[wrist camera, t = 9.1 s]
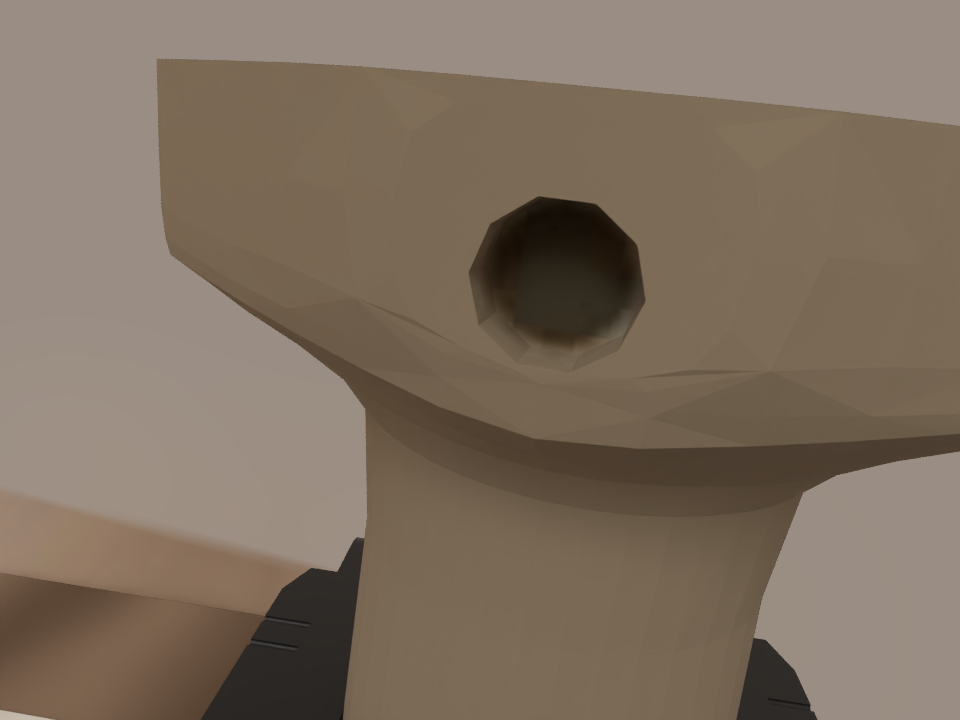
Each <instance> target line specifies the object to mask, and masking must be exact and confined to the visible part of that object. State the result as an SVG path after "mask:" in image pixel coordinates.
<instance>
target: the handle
mask: <svg viewBox="0 0 960 720" xmlns="http://www.w3.org/2000/svg"><path fill="white" fill-rule="evenodd" d="M157 87H158V88H157V90H158V130H159V131H158V133H159V160H160V185H161V207H162V214H163V222H164V230H165V237H166V241H167V244H168V248H169V251H170V254H171V255H172V256H173V257H175V258H176V259H177V260H179V261H180V262H181V263H183V264H184V265H186V266H187V267H188V268H190V269H191V270H192V271H194V272H195V273H197V274H198V275H200V276H201V277H202V278H204V279H205V280H206V281H208V282H209V283H210V284H212V285H213V286H215V287H216V288H217V289H218V290H220V291H221V292H222V293H224V294H225V295H226V296H228V297H229V298H230V299H232V300H233V301H234V302H236V303H237V304H238V305H240V306H241V307H242V308H244V309H245V310H246V311H248V312H249V313H251V314H252V315H254V316H255V317H257V318H258V319H260V320H261V321H263V322H265V323H266V324H268V325H269V326H271V327H272V328H274V329H275V330H277V331H278V332H280V333H282V334H283V335H285V336H286V337H288V338H289V339H291V340H292V341H294V342H295V343H297V344H298V345H299V346H301V347H302V348H303V349H305V350H306V351H307V352H309V353H310V354H311V355H312V356H314V357H315V358H316V359H318V360H319V361H320V362H322V363H323V364H324V365H325V366H327V367H328V368H329V369H331V370H332V371H333V372H334V373H336V374H337V375H338V376H340V377H341V378H342V379H344V381H345V382H346V383H347V385H348V386H349V387H350V389H351V390H352V391H353V393H354V394H355V395H356V397H357V398H358V399H359V401H360V402H361V404H362V405H363V406H364V408H365V409H366V411H365V412H366V462H367V463H366V468H367V523H366V531H365V539H364V547H363V555H362V564H361V572H360V580H359V588H358V596H357V604H356V613H355V621H354V629H353V637H352V645H351V653H350V661H349V670H348V678H347V686H346V694H345V702H344V712H343V720H736V719H737V714H738V709H739V704H740V700H741V695H742V690H743V686H744V681H745V676H746V671H747V667H748V662H749V657H750V652H751V648H752V643H753V638H754V633H755V629H756V624H757V619H758V615H759V610H760V605H761V600H762V597H763V594H764V592H765V589H766V587H767V584H768V581H769V579H770V576H771V574H772V571H773V569H774V566H775V563H776V561H777V558H778V556H779V553H780V551H781V548H782V545H783V543H784V540H785V538H786V535H787V533H788V530H789V528H790V525H791V522H792V520H793V517H794V515H795V512H796V510H797V507H798V505H799V502H800V499H801V497H802V494H803V492H805V491H807V490H809V489H811V488H813V487H815V486H817V485H819V484H821V483H822V482H824V481H826V480H828V479H830V478H832V477H834V476H836V475H840V474H844V473H848V472H853V471H857V470H861V469H865V468H870V467H874V466H878V465H882V464H887V463H891V462H896V461H902V460H908V459H915V458H920V457H927V456H933V455H940V454H946V453H953V452H958V451H960V126H955V125H947V124H938V123H931V122H922V121H915V120H907V119H898V118H890V117H882V116H874V115H866V114H858V113H850V112H842V111H831V110H822V109H813V108H803V107H793V106H784V105H773V104H764V103H754V102H745V101H734V100H725V99H716V98H705V97H695V96H684V95H673V94H663V93H652V92H642V91H631V90H621V89H610V88H599V87H589V86H588V87H587V86H578V85H567V84H556V83H546V82H535V81H525V80H514V79H503V78H493V77H482V76H471V75H460V74H447V73H435V72H423V71H411V70H398V69H385V68H373V67H361V66H359V67H358V66H342V65H325V64H308V63H290V62H288V63H287V62H259V61H258V62H257V61H227V60H187V59H157Z"/></svg>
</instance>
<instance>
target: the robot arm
mask: <svg viewBox="0 0 960 720" xmlns="http://www.w3.org/2000/svg"><path fill="white" fill-rule="evenodd" d="M363 547H364V538H358V537H357V538H356V539H355V540H354V541H353V543H352V545H351V547H350V549H349V551H348V553H347V554H346V556H345V559H344V561H343V562H342V564H341V566H340V568H339V570H338V572H334V571H327V570H321V569H315V568H311V569H309V570H308V571H306V572H305V573H304V574H302V575H301V576H299V577H298V578H296V579H295V580H294V581H292V582H291V583H289V584H288V585H286V586H285V587H284V588H282V590H281V591H280V593H279V595H278V596H277V598H276V599H275V601H274V603H273V604H272V606H271V607H270V609H269V611H268V612H267V614H266V616H265V620H264V621H262V622H261V623H260V625H259V627H258V628H257V630H256V631H255V633H254V635H253V636H252V638H251V642H250V645H247V646H246V647H245V649H244V651H243V652H242V654H241V655H240V657H239V659H238V660H237V662H236V663H235V665H234V667H233V668H232V670H231V671H230V673H229V675H228V676H227V678H226V679H225V681H224V683H223V684H222V686H221V687H220V689H219V691H218V692H217V694H216V695H215V697H214V699H213V700H212V702H211V703H210V705H209V707H208V708H207V710H206V712H205V713H204V715H203V716H202V718H201V720H343V712H344V702H345V694H346V686H347V678H348V670H349V661H350V653H351V645H352V637H353V629H354V621H355V613H356V604H357V596H358V588H359V580H360V572H361V564H362V555H363ZM736 720H817V718H816V716H815V713H814V712H812V711H811V710H810V703H809V701H808V698H807V696H806V694H805V692H804V690H803V687H802V685H801V683H800V681H799V679H798V677H797V675H796V672H795V670H794V669H793V668H792V667H791V666H790V665H789V664H788V663H787V662H786V661H785V660H784V659H783V658H782V657H781V656H780V655H779V654H778V653H777V652H776V650H775V649H774V648H773V647H772V646H771V645H770V644H769V643H768V642H767V641H766V640H762V639H756V638H753V643H752V648H751V652H750V657H749V662H748V667H747V671H746V676H745V681H744V686H743V690H742V695H741V700H740V704H739V709H738V714H737V719H736Z"/></svg>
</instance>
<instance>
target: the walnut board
mask: <svg viewBox="0 0 960 720" xmlns="http://www.w3.org/2000/svg"><path fill="white" fill-rule="evenodd" d="M264 620H265V616H261V615H255V614H249V613H243V612H237V611H230V610H224V609H218V608H212V607H206V606H200V605H194V604H187V603H181V602H175V601H169V600H163V599H157V598H150V597H144V596H138V595H132V594H126V593H120V592H113V591H107V590H101V589H95V588H89V587H83V586H76V585H70V584H64V583H58V582H52V581H46V580H39V579H33V578H27V577H21V576H15V575H9V574H2V573H0V720H201V718H202V716H203V715H204V713H205V712H206V710H207V708H208V707H209V705H210V703H211V702H212V700H213V699H214V697H215V695H216V694H217V692H218V691H219V689H220V687H221V686H222V684H223V683H224V681H225V679H226V678H227V676H228V675H229V673H230V671H231V670H232V668H233V667H234V665H235V663H236V662H237V660H238V659H239V657H240V655H241V654H242V652H243V651H244V649H245V647H246V646H247V645H250V642H251V638H252V636H253V635H254V633H255V631H256V630H257V628H258V627H259V625H260V623H261V622H262V621H264Z"/></svg>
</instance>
